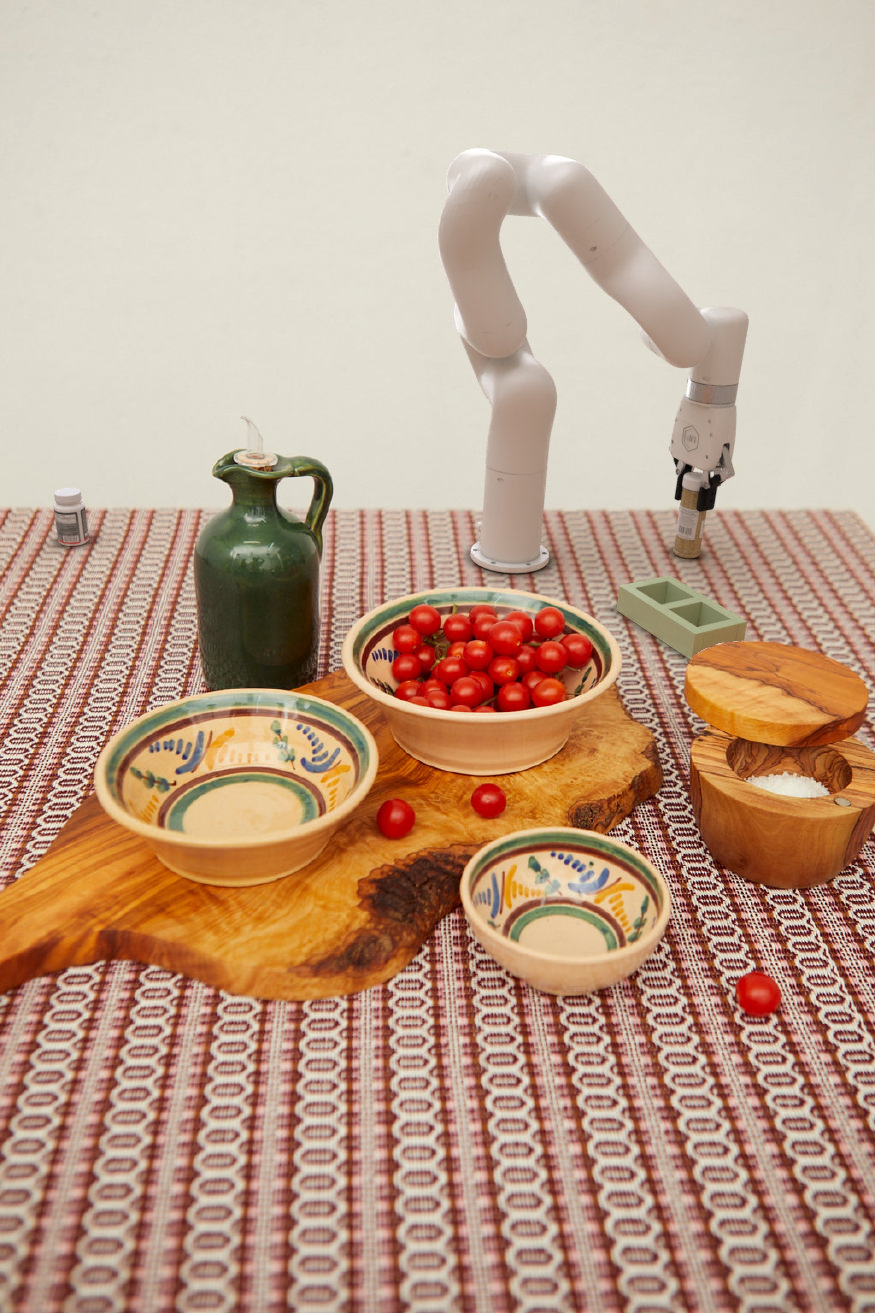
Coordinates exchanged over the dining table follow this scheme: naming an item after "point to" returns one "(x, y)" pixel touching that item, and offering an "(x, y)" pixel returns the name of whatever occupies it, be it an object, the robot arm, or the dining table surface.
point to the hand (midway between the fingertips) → (694, 503)
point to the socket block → (679, 615)
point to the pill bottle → (70, 517)
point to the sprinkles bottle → (690, 518)
